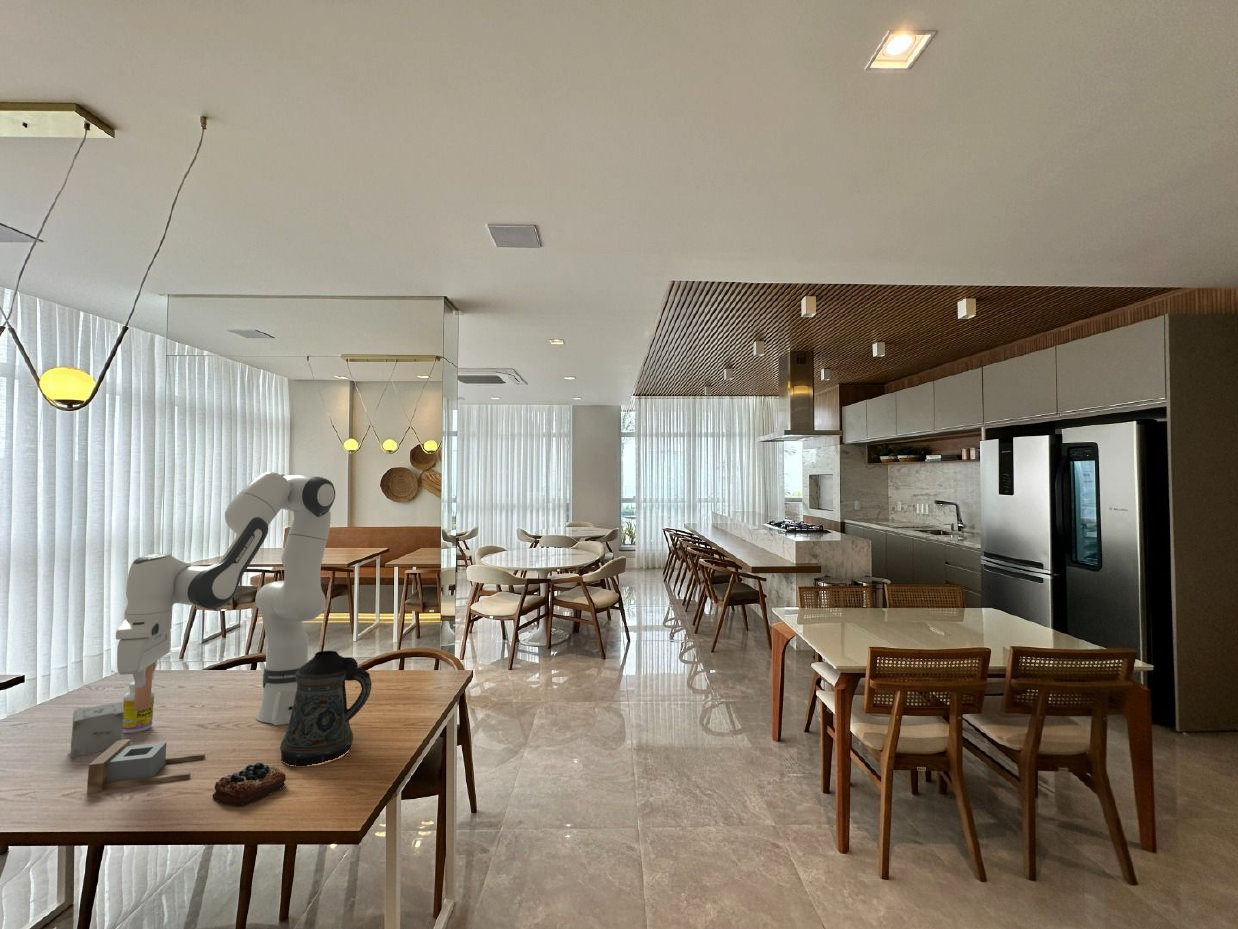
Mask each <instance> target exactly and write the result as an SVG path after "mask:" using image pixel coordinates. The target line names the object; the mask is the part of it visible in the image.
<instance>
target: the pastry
mask: <svg viewBox="0 0 1238 929" xmlns="http://www.w3.org/2000/svg"><path fill="white" fill-rule="evenodd" d="M286 779H287V776H286V773H284V772H283V771H282V770H280V769H279V768H278V767H275V765H272V766H269V765H267V764H266V765H265V764H264V763H263V762H256V763H255V764H248V765H247V766H246V767H245V768H243V769H242V770H239V771H237V772H233V773H231V774H230V773H229V774H227V775H226V776H222V777H221V778H220V779H219V780H218V781H216V782H215V783H214V784H215V785H214V790H215V792H214V793H213V794H212V799H213V800H214V801H216V802H218V803H219V804H220V803H221V804H223V805H227V806H231V807H239V808H244V807H246V806H249V805H250V803H251V804H253V803H256V802H257V801H260V800H262V799H263V797H264V798H266V797H268V796H270V795H269V794H271V793H272V794H273V792H274V793H276V792H278V791H280V790H281V789H283V788H284V787H285V786H286V783H285V782H286ZM284 785H285V786H284ZM283 786H284V787H283ZM282 787H283V788H282ZM280 788H281V789H280ZM277 790H278V791H277ZM275 791H276V792H275ZM272 794H271V795H272ZM261 798H262V799H261ZM259 799H260V800H259Z"/></svg>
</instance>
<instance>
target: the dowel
mask: <svg viewBox="0 0 1238 929" xmlns="http://www.w3.org/2000/svg"><path fill="white" fill-rule="evenodd" d="M152 674H153V663H152V664H151V665H149V666H148V667H146V672H145V678H147V680H146V685H145V686H143V687H139V688H136V687H135V698H134V711H141V710H146V709H149V708H150V703H151V689H152V686H153V685H152V684H153V680H152Z"/></svg>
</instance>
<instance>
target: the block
mask: <svg viewBox="0 0 1238 929" xmlns="http://www.w3.org/2000/svg"><path fill="white" fill-rule="evenodd" d="M166 756H167V741H164V742H155V743H146V744H144V743H143V744H138V745H137V744H135V745H130V746H126V747H125V748H124V749H122V750H121V751H120V752H119V753H118V754H117V755H116V756H115V757H114V758H112V759H111V760H110V761H109V762H108V773H107V783H108V782H116V781H124V780H132V779H140V778H148V777H155V776H156V774H157V773H158V772H159V771H160V770H161V769H162V768H163V767H164V765H165V759H166V758H167V757H166Z"/></svg>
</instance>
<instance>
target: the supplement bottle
mask: <svg viewBox="0 0 1238 929" xmlns="http://www.w3.org/2000/svg"><path fill="white" fill-rule="evenodd" d="M134 684H135V680H133V681H131V682H130V683H129V686H128V688H129V691H128V692H127V693H125V695H124V696H123V701H122V702H123V708H124V720H123V732H122V734H123V733H124V734H135V733H140V732H144V731H147V730H149V729H151V727H152V726H153V717H154V716H153V715H154V704H155V702H154V701H155V690H153V689H152V688H151V703H150V708H149V709H146V710H141V711H134V698H135V686H134Z"/></svg>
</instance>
